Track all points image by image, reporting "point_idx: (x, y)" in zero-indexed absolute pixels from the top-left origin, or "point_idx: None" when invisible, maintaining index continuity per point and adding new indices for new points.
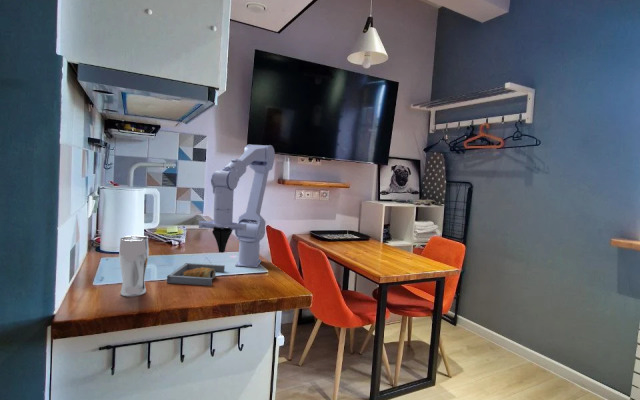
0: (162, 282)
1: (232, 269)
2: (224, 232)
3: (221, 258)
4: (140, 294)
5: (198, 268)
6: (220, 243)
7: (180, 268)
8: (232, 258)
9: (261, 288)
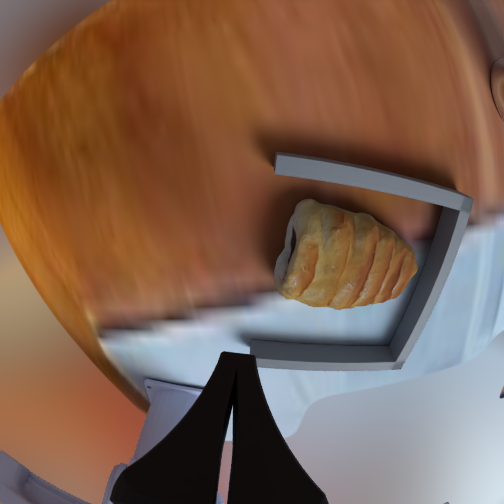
0: None
1: None
2: (156, 500)
3: None
4: (494, 63)
5: (364, 279)
6: (237, 410)
7: (427, 308)
8: None
9: (60, 153)
